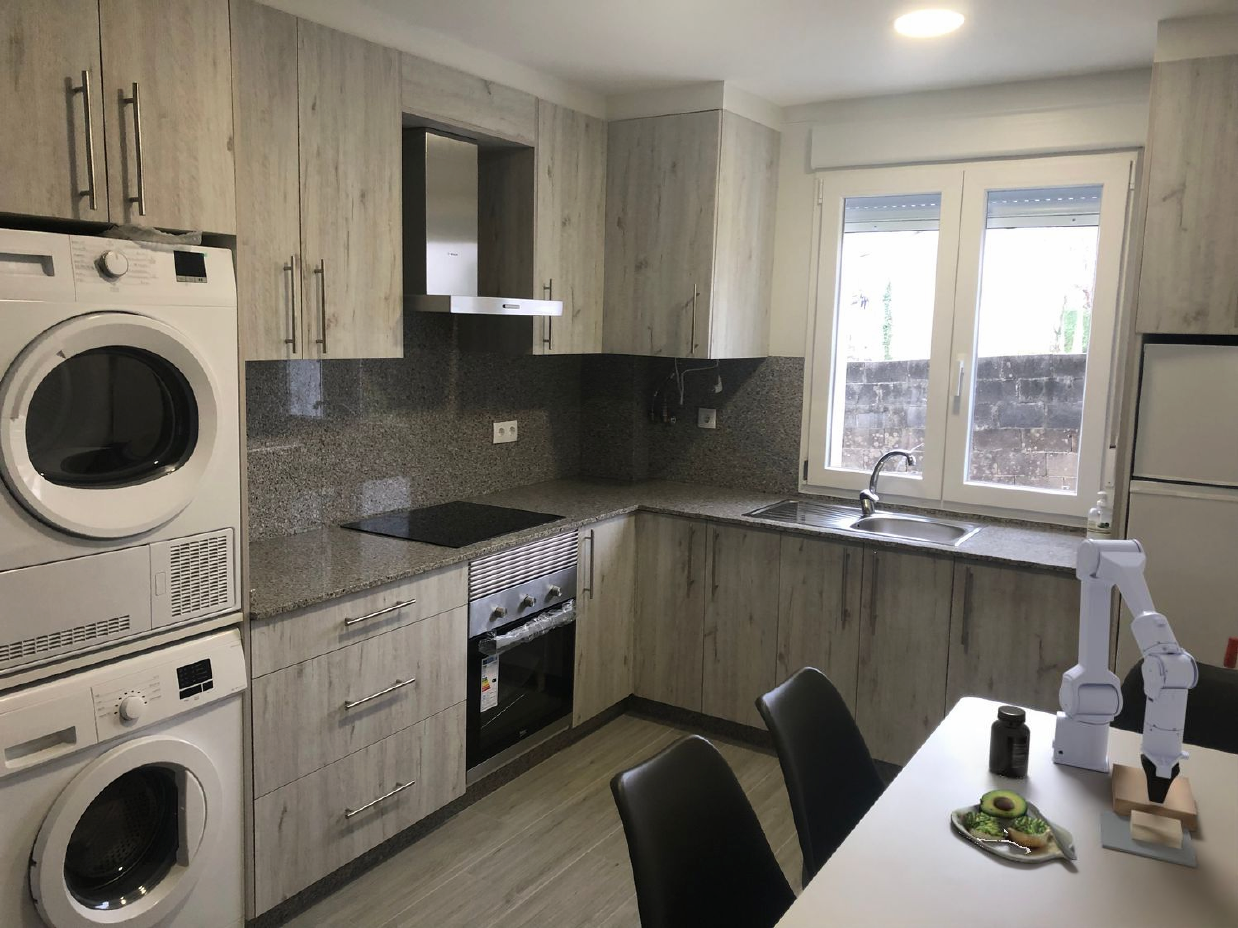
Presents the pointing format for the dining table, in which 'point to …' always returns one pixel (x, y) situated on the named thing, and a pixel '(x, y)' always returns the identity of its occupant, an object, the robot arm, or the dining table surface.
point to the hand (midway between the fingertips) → (1155, 800)
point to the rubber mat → (1119, 838)
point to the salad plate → (1014, 827)
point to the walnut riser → (1134, 796)
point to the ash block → (1156, 829)
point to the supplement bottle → (1009, 743)
